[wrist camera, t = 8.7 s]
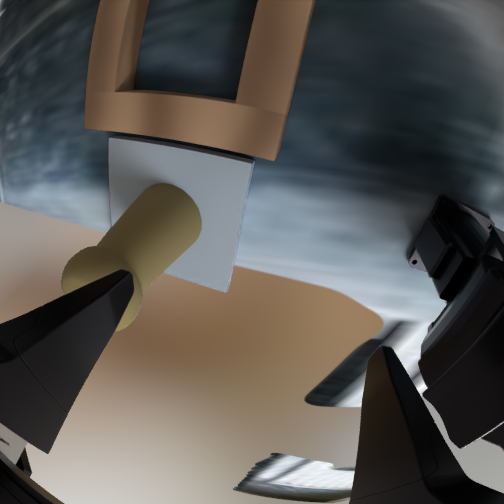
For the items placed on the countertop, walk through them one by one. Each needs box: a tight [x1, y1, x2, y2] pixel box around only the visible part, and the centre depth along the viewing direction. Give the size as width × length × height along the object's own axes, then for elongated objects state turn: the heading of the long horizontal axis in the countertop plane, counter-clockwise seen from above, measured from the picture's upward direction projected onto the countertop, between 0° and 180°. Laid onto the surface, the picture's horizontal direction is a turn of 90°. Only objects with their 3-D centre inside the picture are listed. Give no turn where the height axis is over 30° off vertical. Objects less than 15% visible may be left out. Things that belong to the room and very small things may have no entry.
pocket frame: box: [84, 0, 316, 161], centre depth 14 cm, size 15×15×2 cm
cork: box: [61, 183, 202, 332], centre depth 17 cm, size 6×6×11 cm
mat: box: [109, 135, 255, 293], centre depth 22 cm, size 12×12×1 cm
